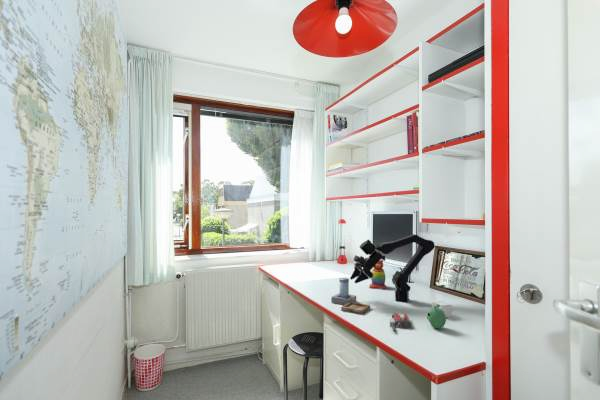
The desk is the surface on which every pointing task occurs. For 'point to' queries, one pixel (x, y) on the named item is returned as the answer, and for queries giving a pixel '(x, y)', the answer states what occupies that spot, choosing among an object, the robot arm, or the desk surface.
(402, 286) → the robot arm
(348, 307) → the tray
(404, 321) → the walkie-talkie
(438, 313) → the alien toy
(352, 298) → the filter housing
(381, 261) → the stacking bear
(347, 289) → the ball
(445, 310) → the pale pink cube
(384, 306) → the desk surface
